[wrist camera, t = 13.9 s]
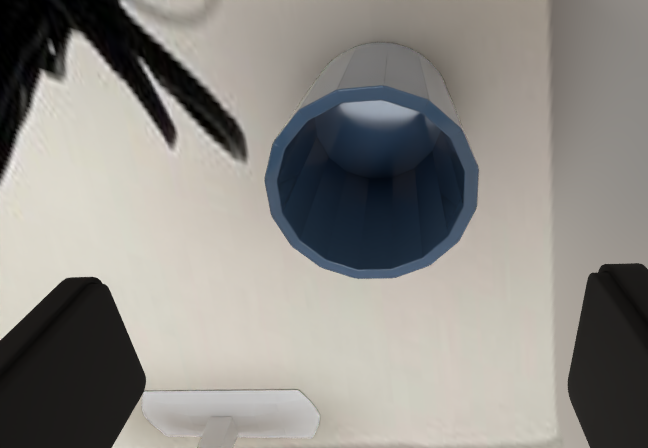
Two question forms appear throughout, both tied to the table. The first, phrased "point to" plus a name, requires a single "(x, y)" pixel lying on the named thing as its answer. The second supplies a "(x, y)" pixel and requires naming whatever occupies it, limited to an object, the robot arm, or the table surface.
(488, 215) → the table surface
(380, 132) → the cup
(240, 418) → the heart sculpture
